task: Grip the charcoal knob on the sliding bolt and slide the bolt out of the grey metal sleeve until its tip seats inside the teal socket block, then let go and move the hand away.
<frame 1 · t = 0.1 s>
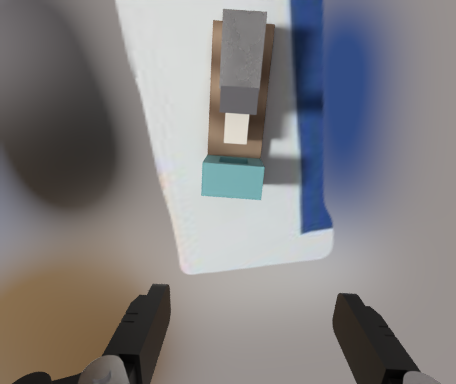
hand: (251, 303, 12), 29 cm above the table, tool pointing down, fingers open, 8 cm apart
socket: (232, 169, 39), resting on board
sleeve: (240, 63, 34), resting on board
sliding bolt: (239, 83, 28), point 8 cm above the table, slide at 0.0 cm
board: (237, 111, 36), on the table
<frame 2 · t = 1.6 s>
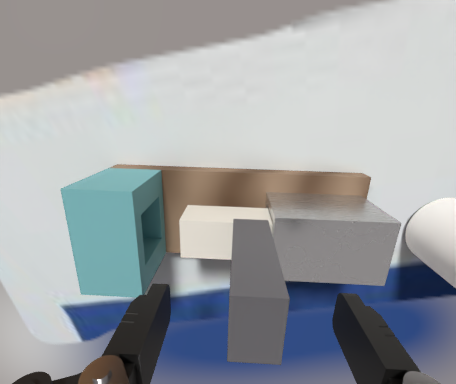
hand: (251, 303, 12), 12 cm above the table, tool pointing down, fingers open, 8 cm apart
can: (436, 227, 23), on the table
socket: (145, 206, 24), resting on board
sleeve: (305, 212, 23), resting on board
sliding bolt: (282, 262, 15), point 8 cm above the table, slide at 0.0 cm
board: (236, 210, 23), on the table
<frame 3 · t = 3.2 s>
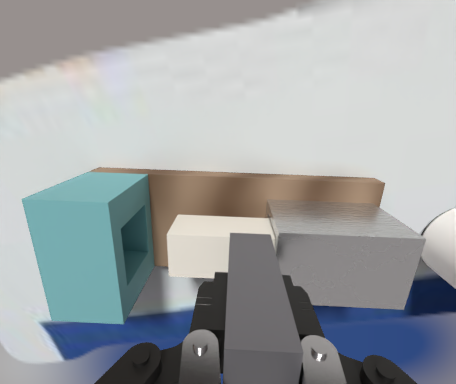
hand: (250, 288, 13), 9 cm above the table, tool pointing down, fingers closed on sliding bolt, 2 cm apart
can: (454, 237, 21), on the table
socket: (131, 214, 21), resting on board
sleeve: (309, 221, 21), resting on board
sliding bolt: (288, 285, 13), point 8 cm above the table, slide at 0.0 cm, touching gripper
board: (233, 218, 21), on the table
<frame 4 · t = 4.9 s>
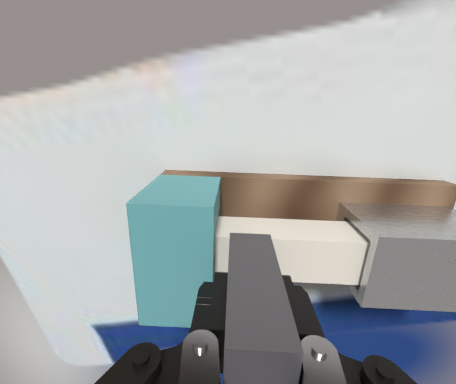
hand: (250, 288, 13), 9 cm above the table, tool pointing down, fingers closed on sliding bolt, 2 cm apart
socket: (194, 216, 21), resting on board
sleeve: (375, 224, 21), resting on board
sliding bolt: (288, 285, 13), point 8 cm above the table, slide at 5.4 cm, touching gripper
board: (297, 221, 21), on the table
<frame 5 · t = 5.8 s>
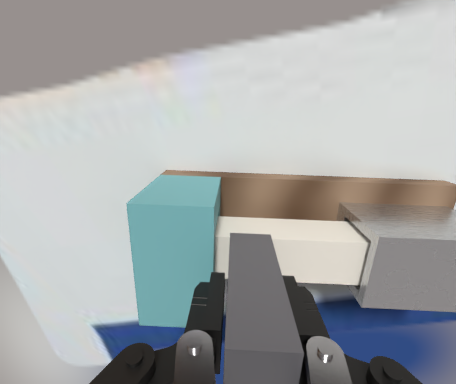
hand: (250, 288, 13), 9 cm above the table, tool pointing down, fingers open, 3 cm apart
socket: (194, 216, 21), resting on board
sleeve: (375, 224, 21), resting on board
sliding bolt: (288, 285, 13), point 8 cm above the table, slide at 5.4 cm
board: (297, 221, 21), on the table
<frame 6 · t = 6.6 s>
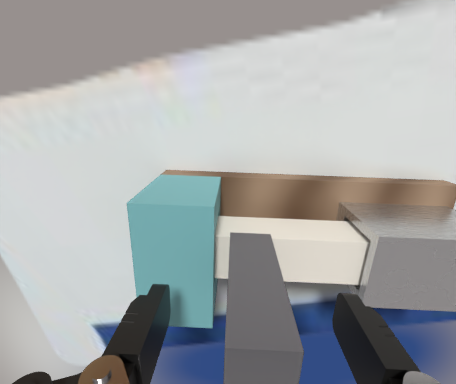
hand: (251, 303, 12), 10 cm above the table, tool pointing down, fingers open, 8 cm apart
socket: (194, 216, 21), resting on board
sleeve: (375, 224, 21), resting on board
sliding bolt: (288, 285, 13), point 8 cm above the table, slide at 5.4 cm
board: (297, 221, 21), on the table
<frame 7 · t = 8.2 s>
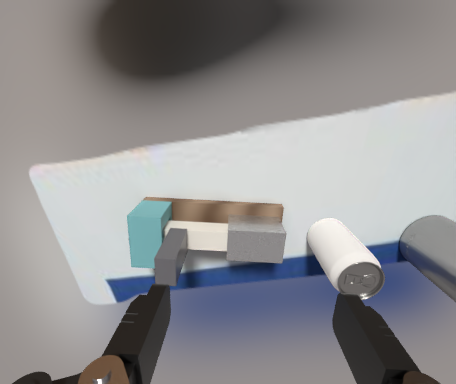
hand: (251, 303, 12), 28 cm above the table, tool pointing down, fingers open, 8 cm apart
can: (325, 233, 41), on the table
socket: (160, 220, 41), resting on board
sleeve: (252, 225, 41), resting on board
sliding bolt: (190, 248, 33), point 8 cm above the table, slide at 5.4 cm
board: (213, 223, 41), on the table
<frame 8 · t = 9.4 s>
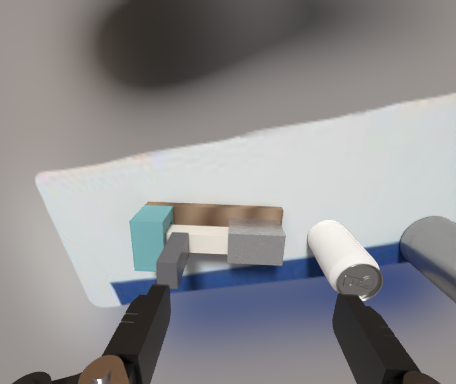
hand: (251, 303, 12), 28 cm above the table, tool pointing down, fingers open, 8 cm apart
can: (325, 235, 42), on the table
socket: (163, 224, 42), resting on board
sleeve: (252, 228, 41), resting on board
sliding bolt: (191, 252, 34), point 8 cm above the table, slide at 5.4 cm
board: (214, 226, 42), on the table
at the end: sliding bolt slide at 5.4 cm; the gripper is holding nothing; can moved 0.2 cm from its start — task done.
